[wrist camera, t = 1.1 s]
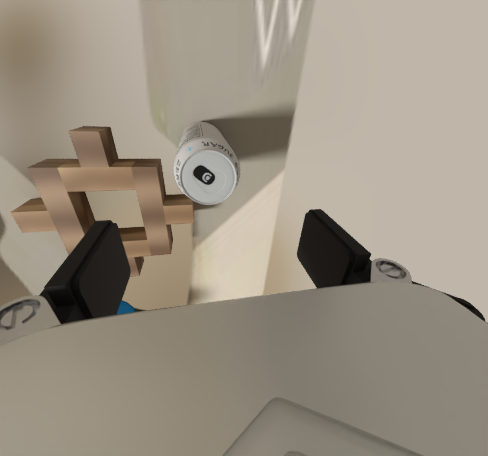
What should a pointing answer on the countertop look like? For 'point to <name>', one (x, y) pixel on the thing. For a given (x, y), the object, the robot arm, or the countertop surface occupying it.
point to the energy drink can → (205, 165)
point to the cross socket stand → (103, 179)
